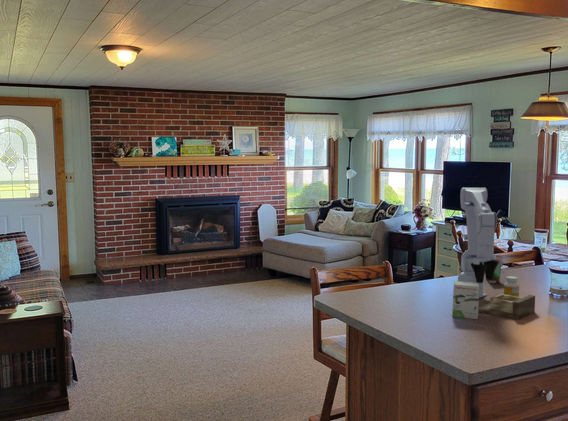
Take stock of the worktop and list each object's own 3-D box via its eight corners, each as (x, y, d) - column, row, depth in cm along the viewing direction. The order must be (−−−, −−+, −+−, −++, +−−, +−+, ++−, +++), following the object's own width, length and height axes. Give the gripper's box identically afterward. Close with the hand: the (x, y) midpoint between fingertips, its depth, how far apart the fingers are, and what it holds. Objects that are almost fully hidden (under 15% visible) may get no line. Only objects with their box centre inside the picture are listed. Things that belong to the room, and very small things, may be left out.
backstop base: (465, 308, 202) (466, 292, 201) (483, 302, 212) (483, 286, 211) (518, 319, 188) (519, 302, 188) (534, 312, 198) (535, 295, 197)
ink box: (452, 317, 191) (453, 283, 190) (452, 313, 196) (453, 280, 195) (478, 319, 189) (479, 285, 188) (477, 315, 194) (478, 282, 192)
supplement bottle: (500, 300, 214) (501, 276, 214) (514, 300, 215) (515, 275, 214) (507, 304, 209) (508, 278, 208) (521, 303, 210) (522, 278, 209)
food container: (504, 285, 240) (505, 263, 239) (489, 285, 241) (490, 262, 240) (499, 279, 252) (500, 258, 251) (485, 279, 253) (486, 257, 252)
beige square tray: (489, 308, 198) (490, 298, 197) (500, 304, 204) (501, 293, 204) (514, 313, 191) (515, 302, 191) (525, 309, 198) (525, 298, 197)
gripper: (487, 248, 194) (485, 285, 195) (504, 244, 204) (503, 279, 206) (468, 246, 199) (467, 282, 201) (486, 242, 209) (485, 277, 211)
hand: (484, 281), depth 203 cm, fingers open, 7 cm apart
